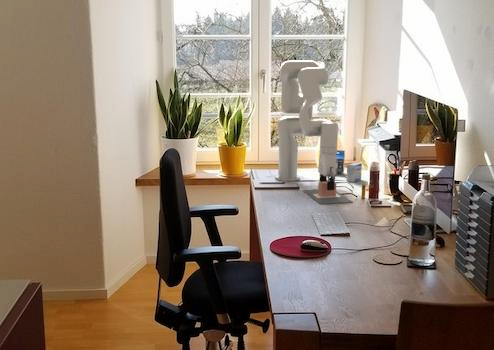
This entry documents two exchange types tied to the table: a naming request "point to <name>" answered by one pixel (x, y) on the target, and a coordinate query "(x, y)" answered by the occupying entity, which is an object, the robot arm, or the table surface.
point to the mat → (327, 200)
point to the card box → (325, 189)
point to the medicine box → (354, 172)
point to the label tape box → (340, 162)
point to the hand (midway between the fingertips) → (326, 187)
